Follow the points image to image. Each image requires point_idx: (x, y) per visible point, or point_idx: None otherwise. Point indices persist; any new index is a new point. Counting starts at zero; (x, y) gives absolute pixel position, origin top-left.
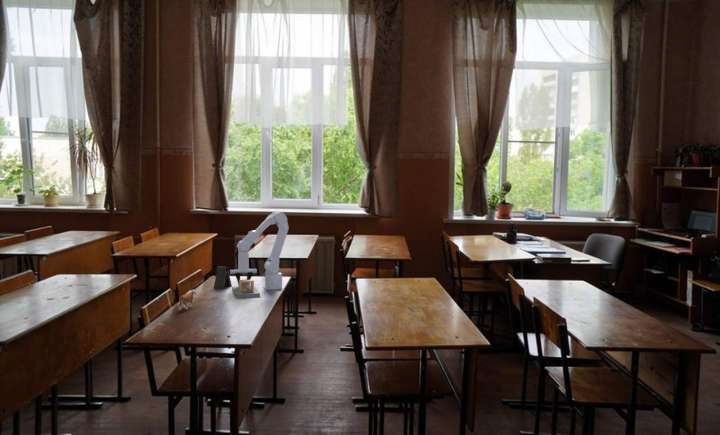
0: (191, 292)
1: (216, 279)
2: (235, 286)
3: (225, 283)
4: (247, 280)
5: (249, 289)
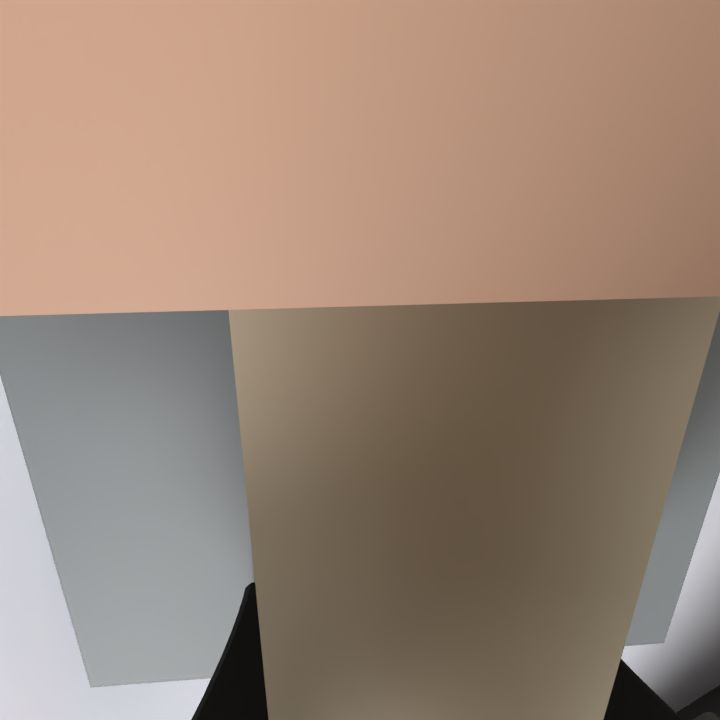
0: None
1: None
2: None
3: None
4: (460, 51)
5: None
